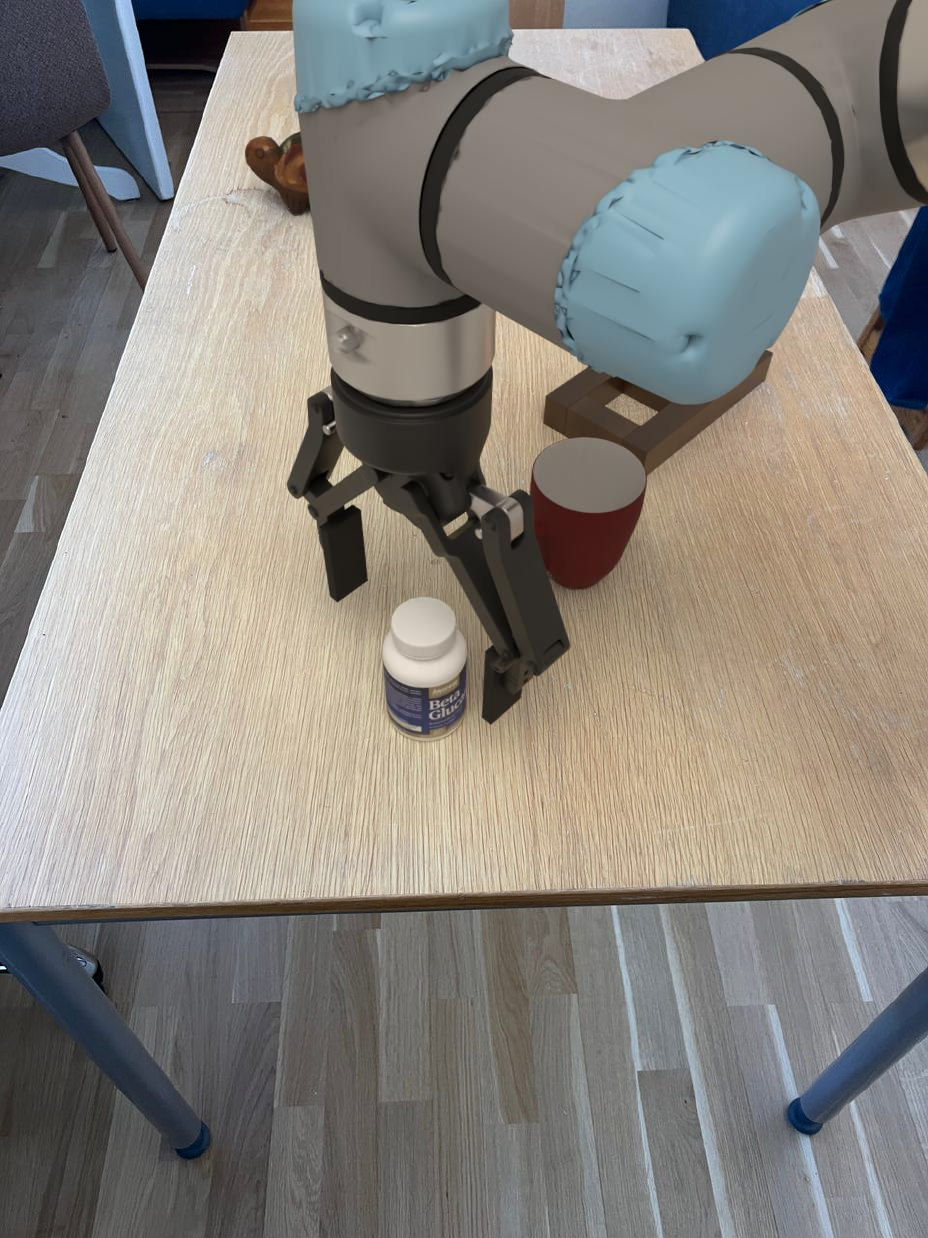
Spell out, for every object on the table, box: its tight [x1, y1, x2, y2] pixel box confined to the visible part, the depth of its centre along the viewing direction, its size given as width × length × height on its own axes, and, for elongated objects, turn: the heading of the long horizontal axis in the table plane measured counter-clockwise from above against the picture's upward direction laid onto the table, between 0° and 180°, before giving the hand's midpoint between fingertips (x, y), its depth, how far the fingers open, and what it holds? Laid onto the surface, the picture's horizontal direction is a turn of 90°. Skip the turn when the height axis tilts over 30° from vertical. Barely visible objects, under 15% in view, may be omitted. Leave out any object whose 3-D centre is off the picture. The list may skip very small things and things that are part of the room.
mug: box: [529, 437, 648, 590], centre depth 69 cm, size 10×8×10 cm
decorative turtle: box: [244, 131, 310, 215], centre depth 108 cm, size 10×15×8 cm, turn 108°
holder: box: [542, 349, 774, 476], centre depth 86 cm, size 11×20×3 cm, turn 136°
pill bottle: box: [381, 596, 468, 742], centre depth 61 cm, size 5×5×10 cm
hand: (421, 645), depth 59 cm, fingers open, 13 cm apart
